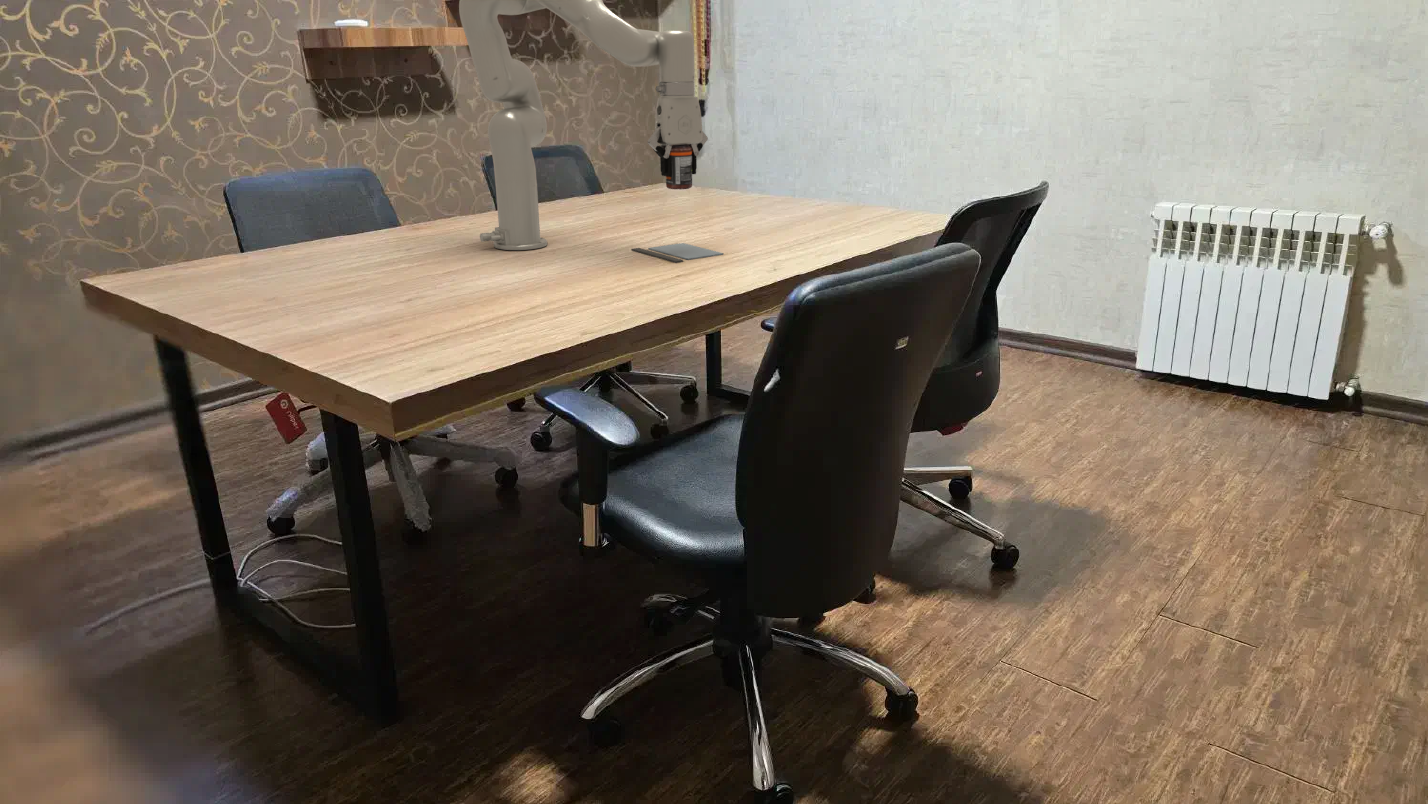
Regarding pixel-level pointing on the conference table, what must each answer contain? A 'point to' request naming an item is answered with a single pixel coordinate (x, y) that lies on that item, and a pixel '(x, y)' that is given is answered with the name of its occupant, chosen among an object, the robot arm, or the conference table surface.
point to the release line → (657, 255)
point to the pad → (685, 251)
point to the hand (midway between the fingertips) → (678, 174)
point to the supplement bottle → (680, 167)
